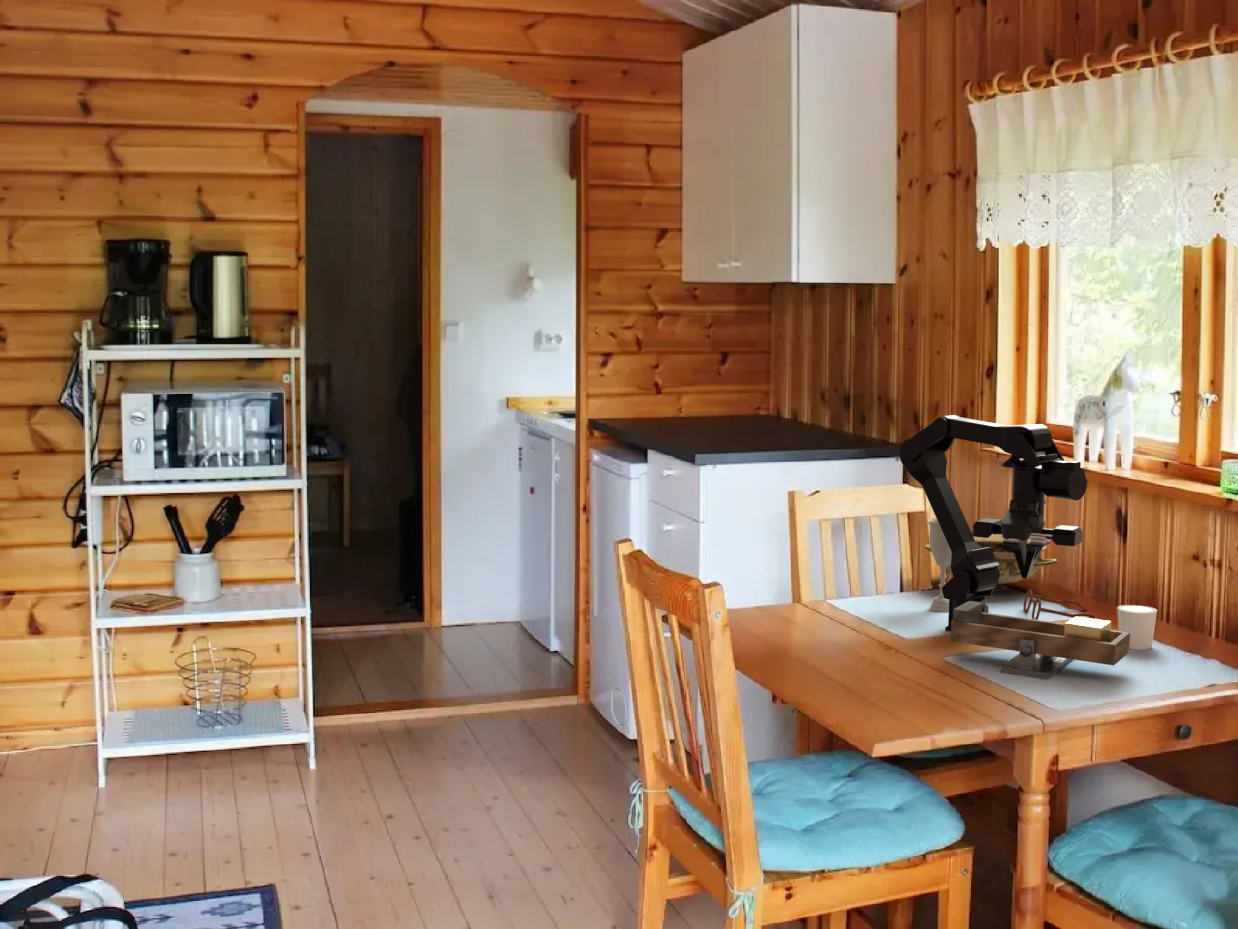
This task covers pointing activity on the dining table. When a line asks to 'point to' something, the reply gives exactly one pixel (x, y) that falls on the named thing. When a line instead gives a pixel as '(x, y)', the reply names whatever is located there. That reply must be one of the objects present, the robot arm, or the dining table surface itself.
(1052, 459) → the robot arm
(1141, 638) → the white cup
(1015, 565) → the ceramic bowl
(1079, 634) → the brass block
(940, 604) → the chalice
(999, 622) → the beam
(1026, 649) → the pivot stand
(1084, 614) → the glasses
